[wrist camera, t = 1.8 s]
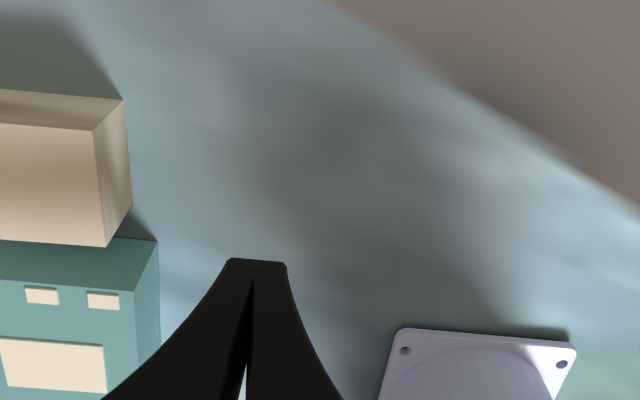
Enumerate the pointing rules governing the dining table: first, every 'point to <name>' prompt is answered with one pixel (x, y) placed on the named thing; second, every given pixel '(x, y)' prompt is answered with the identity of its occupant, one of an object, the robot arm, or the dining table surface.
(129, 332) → the teal toy building
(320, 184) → the dining table surface
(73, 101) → the stub
